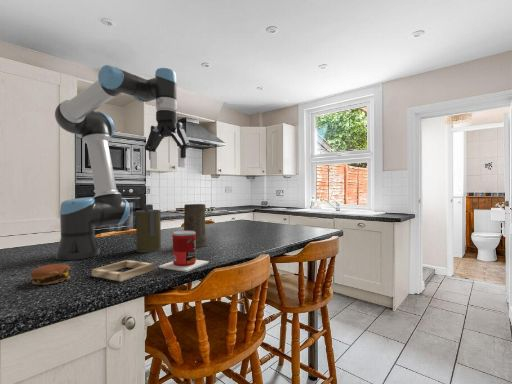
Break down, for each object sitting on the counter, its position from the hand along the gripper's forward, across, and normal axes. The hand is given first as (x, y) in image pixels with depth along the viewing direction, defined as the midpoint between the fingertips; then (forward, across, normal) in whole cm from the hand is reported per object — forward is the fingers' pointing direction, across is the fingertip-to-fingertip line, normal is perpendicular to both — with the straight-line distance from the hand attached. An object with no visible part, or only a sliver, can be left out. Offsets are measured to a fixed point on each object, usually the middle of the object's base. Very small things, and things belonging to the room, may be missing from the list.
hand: (167, 168), depth 107 cm
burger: (+35, -14, -33) cm, 50 cm away
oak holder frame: (+35, -1, -19) cm, 40 cm away
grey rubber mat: (+35, +11, -4) cm, 37 cm away
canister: (+35, -20, +10) cm, 41 cm away
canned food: (+34, +11, -4) cm, 36 cm away
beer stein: (+35, -8, +28) cm, 45 cm away
